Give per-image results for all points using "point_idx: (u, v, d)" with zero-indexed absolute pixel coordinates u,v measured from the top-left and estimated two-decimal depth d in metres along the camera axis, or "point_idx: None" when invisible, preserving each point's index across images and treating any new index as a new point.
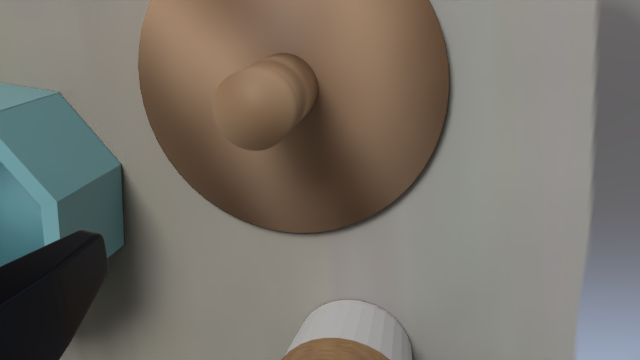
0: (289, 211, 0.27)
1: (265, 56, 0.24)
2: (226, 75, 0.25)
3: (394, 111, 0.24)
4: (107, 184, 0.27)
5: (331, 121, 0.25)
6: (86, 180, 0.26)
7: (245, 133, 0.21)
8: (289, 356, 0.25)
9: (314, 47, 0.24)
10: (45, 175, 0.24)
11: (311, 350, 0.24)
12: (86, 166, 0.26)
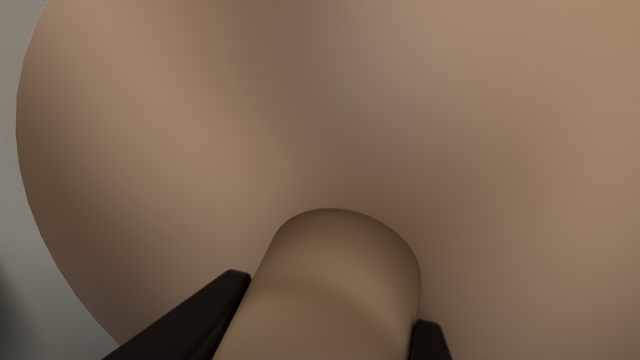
0: None
1: (325, 204, 0.10)
2: (221, 197, 0.11)
3: None
4: None
5: None
6: None
7: None
8: None
9: (446, 238, 0.10)
10: None
11: None
12: None
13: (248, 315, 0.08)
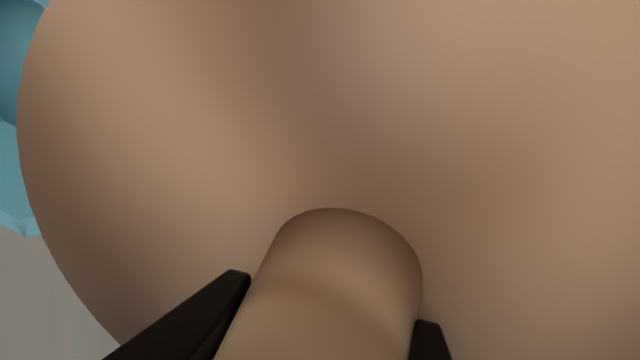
0: None
1: (326, 204, 0.10)
2: (222, 197, 0.11)
3: None
4: None
5: None
6: None
7: None
8: None
9: (448, 237, 0.10)
10: None
11: None
12: None
13: (249, 315, 0.08)
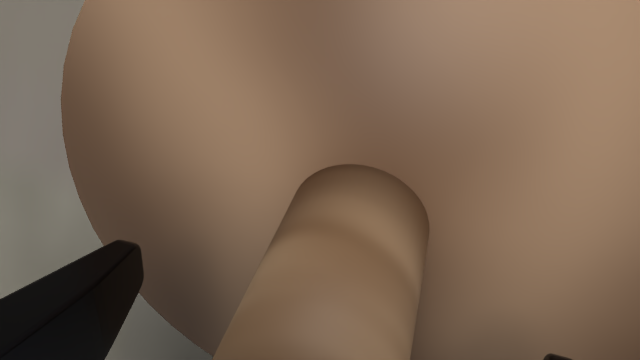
0: None
1: (343, 161, 0.11)
2: (248, 156, 0.12)
3: (543, 336, 0.12)
4: None
5: (419, 302, 0.13)
6: None
7: None
8: None
9: (453, 189, 0.11)
10: None
11: None
12: None
13: (279, 251, 0.10)
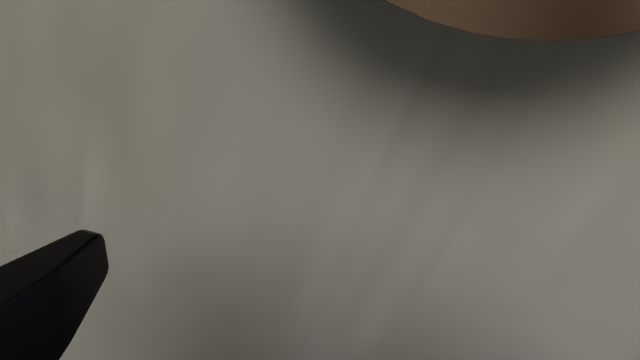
0: None
1: None
2: None
3: None
4: None
5: None
6: None
7: None
8: None
9: None
10: None
11: None
12: None
13: None
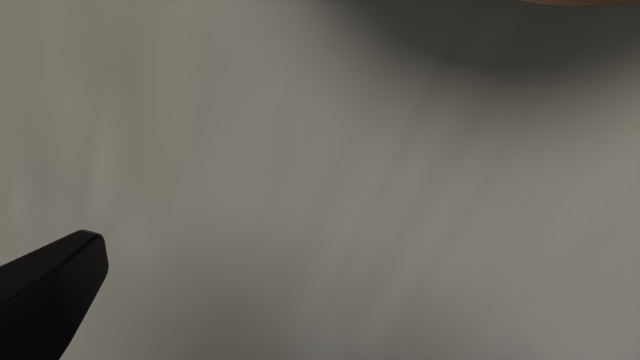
0: None
1: None
2: None
3: None
4: None
5: None
6: None
7: None
8: None
9: None
10: None
11: None
12: None
13: None
